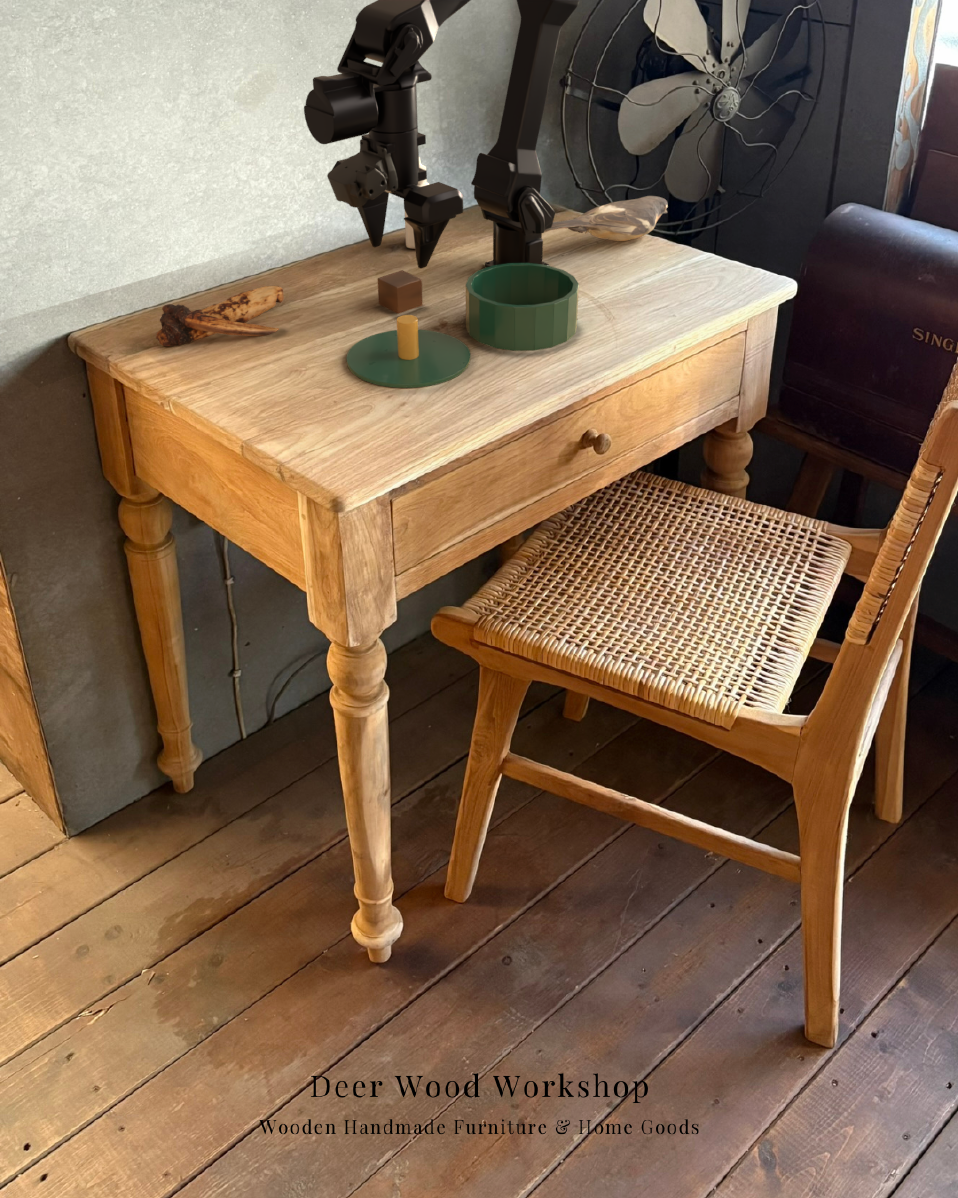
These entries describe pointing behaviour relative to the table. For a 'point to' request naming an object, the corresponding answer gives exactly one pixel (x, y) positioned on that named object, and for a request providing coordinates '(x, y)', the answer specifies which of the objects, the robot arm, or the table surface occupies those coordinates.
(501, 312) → the tin
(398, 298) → the block
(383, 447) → the table surface
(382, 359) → the lid
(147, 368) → the table surface
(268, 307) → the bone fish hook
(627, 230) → the decorative bird
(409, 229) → the eye dropper bottle
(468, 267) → the table surface
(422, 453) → the table surface
